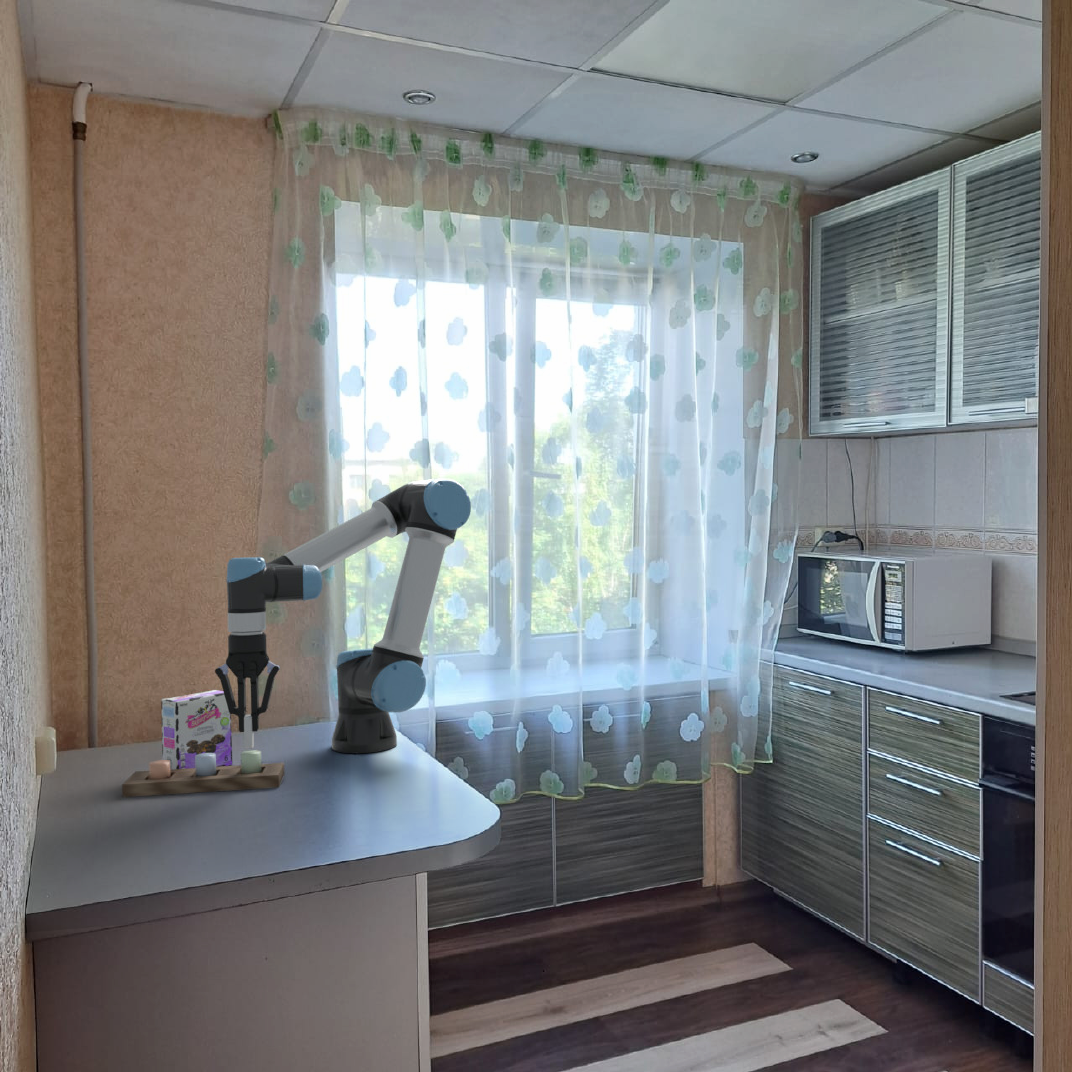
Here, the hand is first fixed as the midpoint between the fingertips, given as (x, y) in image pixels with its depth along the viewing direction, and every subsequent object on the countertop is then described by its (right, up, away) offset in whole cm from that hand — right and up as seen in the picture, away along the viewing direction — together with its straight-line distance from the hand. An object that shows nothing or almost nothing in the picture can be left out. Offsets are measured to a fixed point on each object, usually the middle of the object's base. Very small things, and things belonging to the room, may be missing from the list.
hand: (249, 747), depth 200 cm
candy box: (-15, -8, +12) cm, 20 cm away
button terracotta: (-17, -7, -2) cm, 19 cm away
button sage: (0, -5, 0) cm, 5 cm away
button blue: (-9, -5, -1) cm, 10 cm away
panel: (-8, -8, -1) cm, 11 cm away
